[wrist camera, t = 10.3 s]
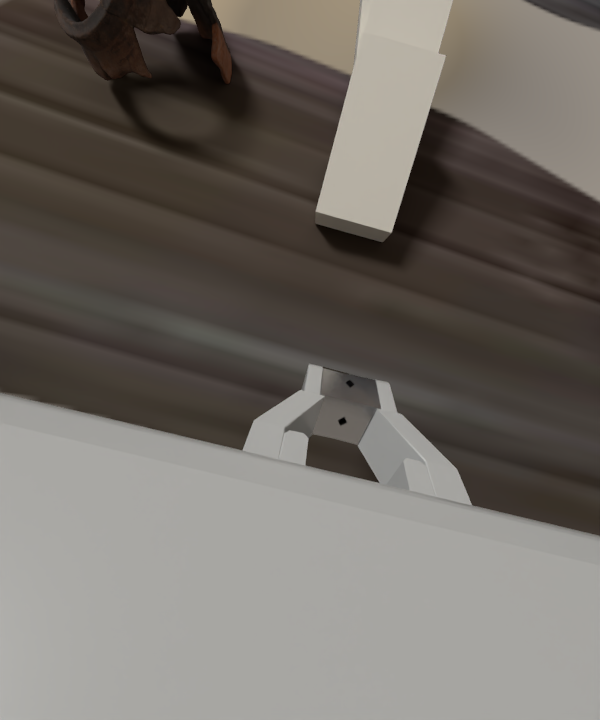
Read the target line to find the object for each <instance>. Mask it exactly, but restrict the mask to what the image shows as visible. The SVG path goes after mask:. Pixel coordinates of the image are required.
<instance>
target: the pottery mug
mask: <svg viewBox="0 0 600 720" xmlns="http://www.w3.org/2000/svg"><path fill="white" fill-rule="evenodd" d="M187 6H189V8H190V11H191V13H192V15H193V17H194V19H195V22H196V24H197V27H198V31H199V34H200V36H201V37H202V38H204V39H211V40H212V50H211V57H212V60H213V62H214V63H215V64H216V65H217V66H218V67H219V68H220V73H221V76H222V78H223V80H224V82H225V83H226V84H229V83H230V80H231V75H232V62H231V56H230V50H229V48H228V46H227V43H226V41H225V38H224V35H223V31H222V27H221V24H220V21H219V19H218V18H217V15H216V12H215V10H214V8H213V7H212V3H211V0H100V4H99V5H98V7H97V8H96V9H95V10H94V12H93V13H92V14H91V15H90V16H89V17H88V16H87V14H86V12H85V10H84V7H85V0H71V4H70V3H69V2H68V0H54V9H55V12H56V16H57V19H58V21H59V23H60V25H61V27H62V29H63V30H64V31H65V33H66V34H67V35H68V36H70V37H71V38H73V39H74V40H76V41H77V42H78V43H79V44H80V45H81V47H82V49H83V52H84V54H85V55H86V57H87V59H88V61H89V63H90V65H91V66H92V68H93V69H94V71H95V72H96V73H97V74H98V75H99V76H101V77H102V78H104V79H105V80H111V79H118V78H122V77H123V76H124V75H126V74H127V73H131V72H134V73H137V74H139V75H141V76H143V77H147V78H152V75H151V73H150V72H149V70H148V68H147V66H146V64H145V61H144V59H143V56H142V52H141V49H140V47H139V43H138V40H137V38H136V34H135V31H134V27H136V28H138V29H139V30H141V31H143V32H144V33H147V34H151V35H152V34H160V33H165V34H169V35H171V34H174V33H175V32H176V31H177V30H178V29H179V28H180V25H181V22H180V20H179V19H178V17H181V16H183V14H184V12H185V10H186V9H187Z"/></svg>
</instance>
